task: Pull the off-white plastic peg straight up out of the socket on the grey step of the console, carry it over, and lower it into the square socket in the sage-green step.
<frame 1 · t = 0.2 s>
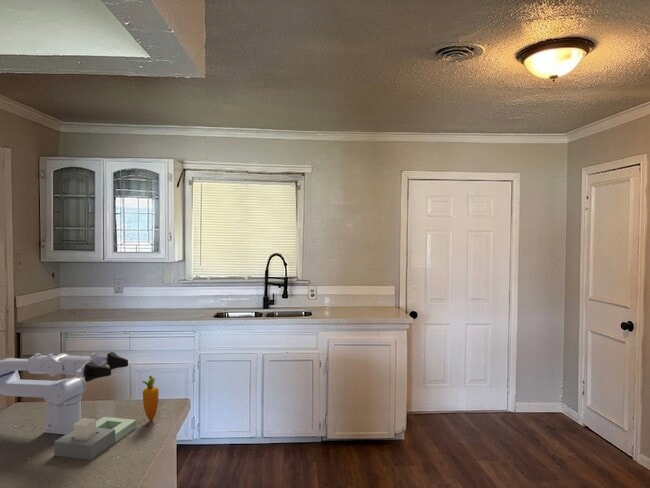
hand: (119, 367, 134), 21 cm above the counter, tool horizontal, fingers open, 7 cm apart
peg: (85, 442, 127), point 2 cm above the counter, touching console
carrot: (151, 421, 145), on the counter
console: (98, 440, 132), on the counter
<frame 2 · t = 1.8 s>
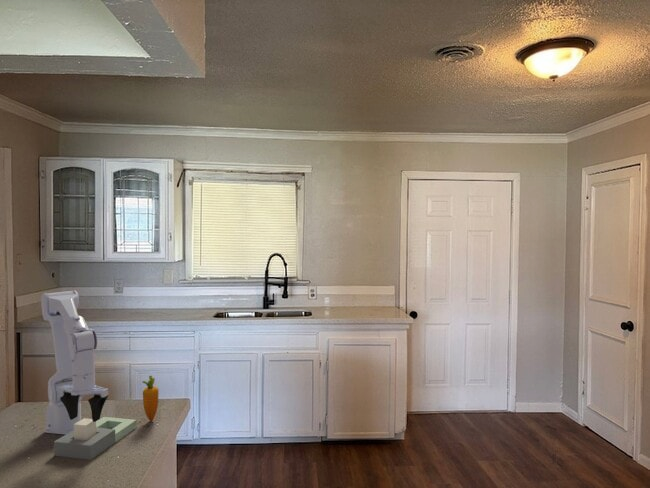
hand: (84, 419, 126), 9 cm above the counter, tool pointing down, fingers open, 7 cm apart
nothing on the counter moved.
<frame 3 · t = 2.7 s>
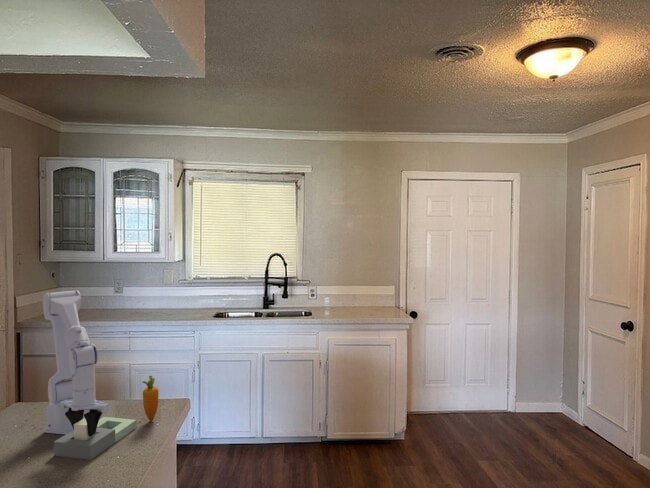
hand: (85, 433, 127), 4 cm above the counter, tool pointing down, fingers closed on peg, 4 cm apart
peg: (85, 442, 127), point 2 cm above the counter, touching console, gripper
everything else where it was.
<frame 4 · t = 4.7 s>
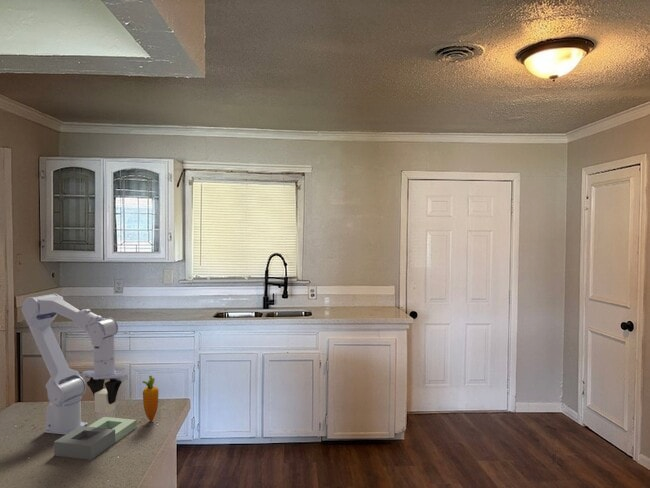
hand: (105, 402, 135), 10 cm above the counter, tool pointing down, fingers closed on peg, 4 cm apart
peg: (105, 410, 134), point 8 cm above the counter, touching gripper
everything else where it was.
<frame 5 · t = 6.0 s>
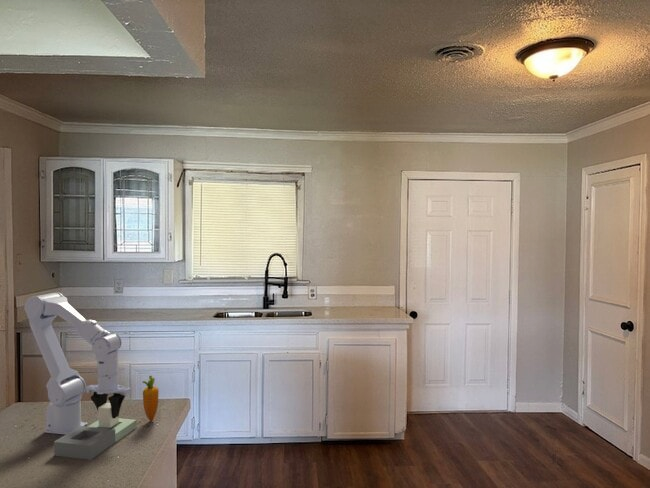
hand: (109, 416, 136), 5 cm above the counter, tool pointing down, fingers closed on peg, 4 cm apart
peg: (108, 424, 136), point 3 cm above the counter, touching gripper
everything else where it was.
when the fingers open (3 cm above the counter, at t = 6.9 s): peg drops 1 cm, resting in console.
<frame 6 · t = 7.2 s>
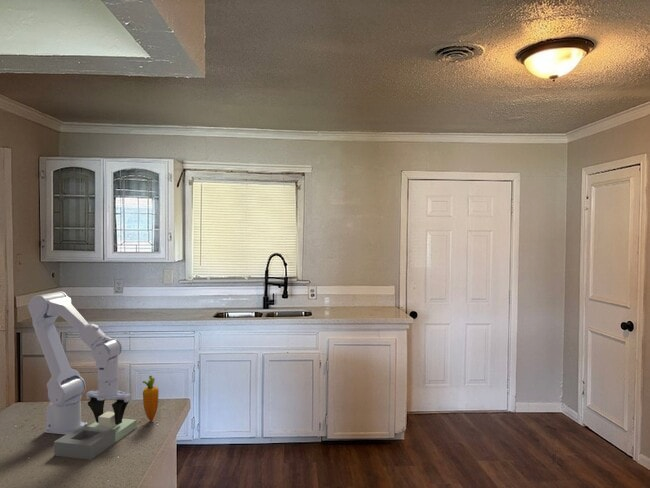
hand: (109, 422, 136), 3 cm above the counter, tool pointing down, fingers open, 6 cm apart
peg: (108, 433, 136), resting in console
everything else where it was.
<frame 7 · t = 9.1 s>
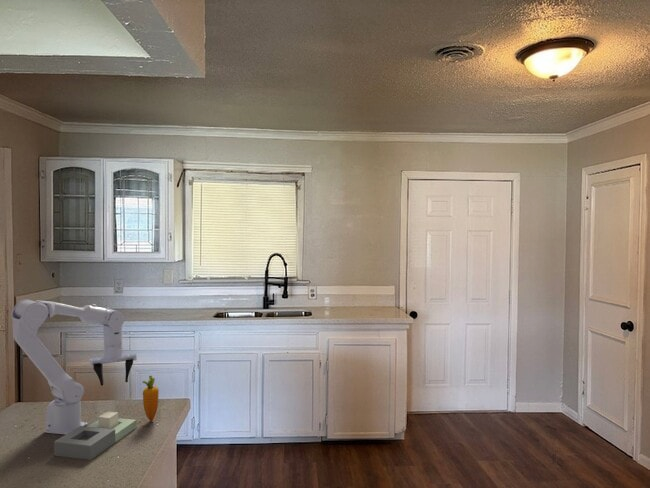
hand: (114, 382, 151), 10 cm above the counter, tool pointing down, fingers open, 7 cm apart
nothing on the counter moved.
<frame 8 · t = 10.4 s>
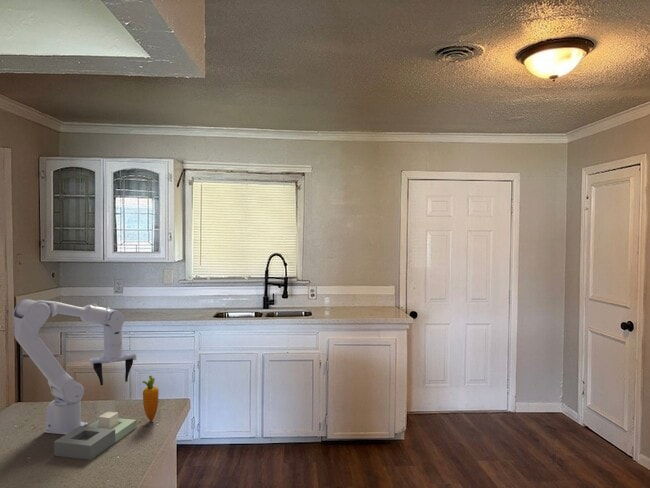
hand: (114, 382, 152), 10 cm above the counter, tool pointing down, fingers open, 7 cm apart
nothing on the counter moved.
at the end: peg 0.2 cm from the target spot on the console, point 0.0 cm above the console's base; peg tilted 0°; the gripper is holding nothing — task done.
